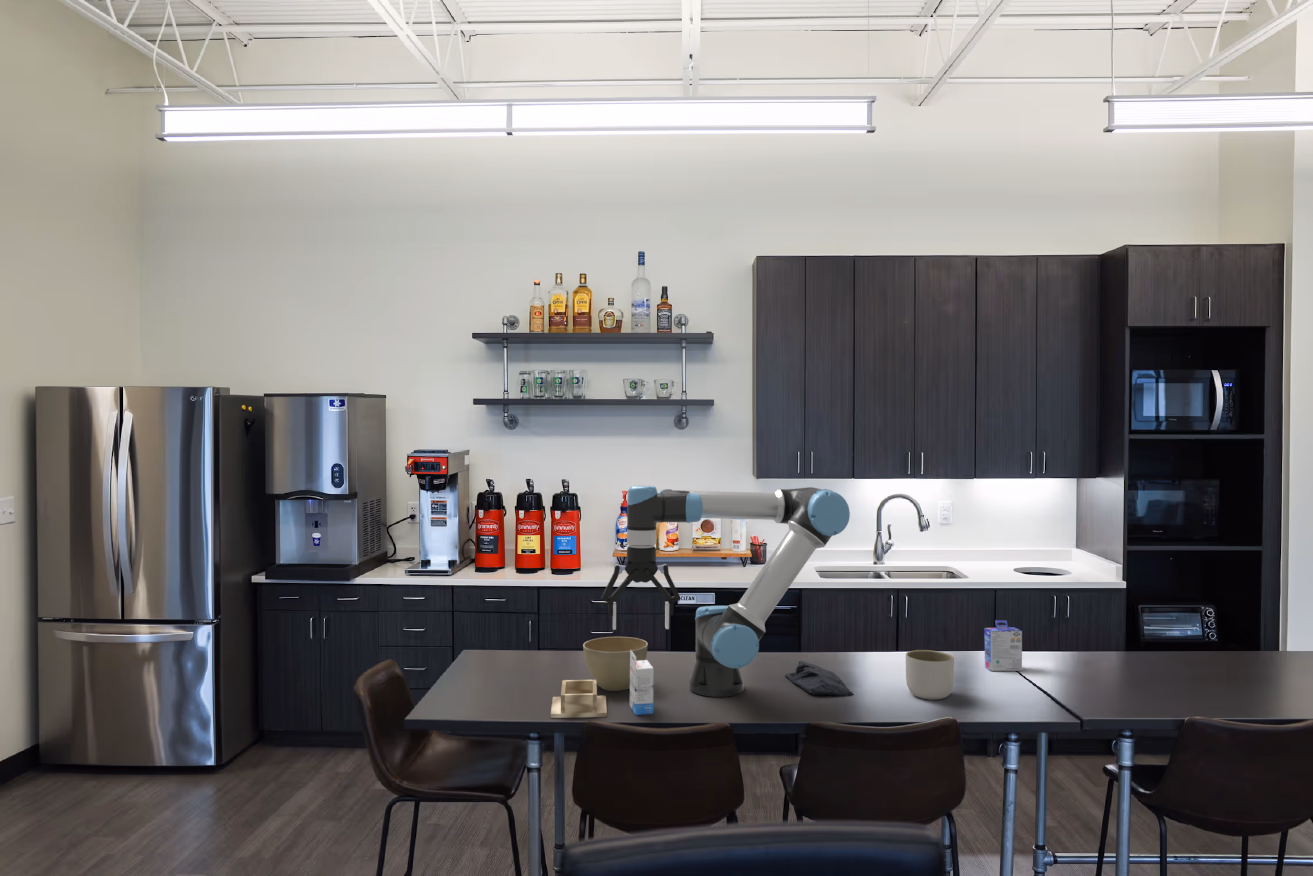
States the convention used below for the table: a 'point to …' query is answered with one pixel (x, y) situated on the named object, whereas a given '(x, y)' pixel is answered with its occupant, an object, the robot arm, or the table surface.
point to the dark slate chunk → (818, 680)
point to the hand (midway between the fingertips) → (640, 628)
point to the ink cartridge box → (1003, 648)
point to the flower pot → (613, 660)
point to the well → (578, 700)
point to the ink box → (641, 686)
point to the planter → (929, 674)
